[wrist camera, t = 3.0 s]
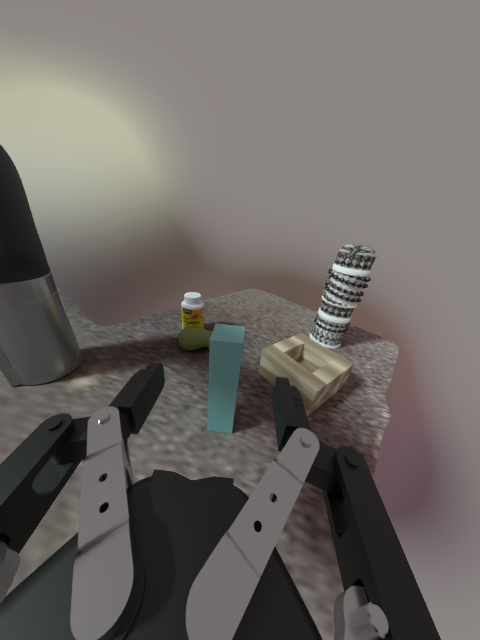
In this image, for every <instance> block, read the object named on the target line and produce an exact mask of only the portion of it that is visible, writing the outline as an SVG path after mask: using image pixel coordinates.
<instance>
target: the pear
mask: <svg viewBox="0 0 480 640" xmlns="http://www.w3.org/2000/svg"><path fill="white" fill-rule="evenodd" d="M212 332H213V331H208V330H205V329H203V328H200V327H192V326H191V327H185V328H183V329H182V330H181V331H180V333H179V335H178V343H179V345H180V347H181V348H183V349H185V350H195V349H198V348H201V347H207V348H210V338H211V335H212Z"/></svg>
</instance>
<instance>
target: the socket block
mask: <svg viewBox="0 0 480 640" xmlns="http://www.w3.org/2000/svg"><path fill="white" fill-rule="evenodd" d="M353 366H354V364H353V363H351V362H349V361H348V360H346V359H344V358H343V357H341V356H339V355H337V354H336V353H334V352H332V351H331V350H329V349H327V348H326V347H324V346H322V345H321V344H319V343H317V342H315V341H314V340H312V339H310V338H309V337H307V336H305V335H304V334H302V333H301V334H298V335H296V336H293V337H291V338H288V339H286V340H283V341H281V342H278V343H276V344H273V345H271V346H268V347H266V348H263V351H262V356H261V361H260V366H259V371H258V372H259V373H260V374H261V375H262V376H263V377H264V378H265V379H266V380H267V381H268V382H270V383H271V384H272V385H273V386H275V382H276V378H277V377H286V378H288V379H289V383H290V386H296V388H297V389H298V390H299V392H300V393H301V397H302V401H303V404H304V408H305V411H306V415H307V416H308V415H310V414H311V413H312V412H313V411H315V410H316V409H317V408H318V407H319V406H321V405H322V404H323V403H324V402H325V401H327V400H328V399H329V398H330V397H332V396H333V395H334V394H335V393H336V392H338V391H339V390H340V389H341V388H342V387H343V386H344V384H345V382H346V380H347V378H348V376H349V374H350V372H351V370H352V368H353Z"/></svg>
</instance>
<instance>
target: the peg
mask: <svg viewBox="0 0 480 640" xmlns="http://www.w3.org/2000/svg"><path fill="white" fill-rule="evenodd" d="M244 331H245V327H243V326H234V325H226V324H217V323H216V324H215V327H214V329H213V332H212V335H211V338H210V348H209V386H208V425H207V431H215V432H223V433H231V434H232V429H233V421H234V413H235V405H236V398H237V390H238V382H239V374H240V367H241V359H242V351H243V343H244Z"/></svg>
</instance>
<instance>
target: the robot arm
mask: <svg viewBox="0 0 480 640" xmlns="http://www.w3.org/2000/svg"><path fill="white" fill-rule="evenodd" d="M82 360H83V357H82V353H81V350H80V347H79V345H78V343H77V340H76V337H75V334H74V332H73V329H72V326H71V324H70V321H69V318H68V316H67V313H66V310H65V308H64V305H63V302H62V300H61V297H60V294H59V292H58V289H57V286H56V284H55V281H54V278H53V276H52V273H51V271H50V268H49V265H48V263H47V260H46V256H45V253H44V250H43V247H42V244H41V241H40V238H39V235H38V233H37V230H36V227H35V223H34V220H33V217H32V214H31V210H30V207H29V203H28V200H27V197H26V193H25V190H24V187H23V185H22V181H21V179H20V176H19V174H18V171H17V170H16V167H15V165H14V163H13V162H12V160H11V158H10V156H9V155H8V154H7V152H6V151H5V150H4V148H3V147H2V146H1V145H0V370H1V372H2V373H3V375H4V376H5V378H6V379H7V381H8V382H9V384H10V385H11V387H13V386H17V385H38V384H43V383H47V382H51V381H54V380H56V379H59V378H61V377H63V376H65V375H67V374H69V373H71V372H72V371H74V370H75V369H76V368H77V367H78V366H79V365H80V364H81V362H82ZM164 383H165V378H164V370H163V365H162V364H161V363H149V365H148V366H147V367H146V369H145V370H144V369H141V370H139V371H138V372H137V373H135V374H134V375H133V376H132V377H131V379H130V380H129V382H127V384H126V385H125V387H123V389H122V390H121V391H120V392H119V394H118V395H117V396H116V397H115V399H114V400H113V401H112V402H111V404H110V405H109V406H108V407H105V408H102V409H100V410H98V411H96V412H95V413H94V414H93V415H92V416H90V417H85V418H79V419H72V417H71V416H70V415H69V414H58V415H55V416H52V417H50V418H49V419H47V420H45V421H44V422H43V423H41V424H40V425H39V426H38V427H37V428H36V429H35V430H34V431H33V432H32V433H31V434H30V435H29V436H28V437H27V438H26V439H25V440H24V441H23V442H22V443H21V444H20V445H19V446H18V447H17V448H16V449H15V450H14V451H13V452H12V453H11V454H10V455H9V456H8V457H7V458H6V459H5V460H4V461H3V462H2V463H1V464H0V640H322V638H321V635H320V633H319V631H318V629H317V627H316V625H315V623H314V621H313V619H312V617H311V615H310V613H309V611H308V609H307V607H306V605H305V603H304V601H303V599H302V597H301V596H300V594H299V592H298V590H297V588H296V586H295V584H294V582H293V580H292V578H291V576H290V574H289V572H288V570H287V568H286V566H285V564H284V562H283V561H282V559H281V557H280V555H279V553H278V551H277V549H276V547H275V545H276V542H277V540H278V538H279V536H280V534H281V532H282V529H283V527H284V525H285V523H286V521H287V518H288V516H289V514H290V512H291V510H292V508H293V505H294V503H295V501H296V499H297V497H298V495H299V492H300V490H301V488H302V486H303V483H304V481H306V482H308V483H310V484H312V485H314V486H316V487H318V488H320V489H322V490H323V495H324V499H325V504H326V509H327V513H328V518H329V523H330V527H331V532H332V536H333V541H334V546H335V550H336V555H337V560H338V564H339V569H340V574H341V578H342V583H343V588H344V592H343V593H341V594H340V595H339V596H338V597H337V599H336V600H335V604H334V625H335V635H334V640H441V639H440V636H439V634H438V632H437V629H436V627H435V625H434V622H433V620H432V617H431V615H430V613H429V611H428V608H427V606H426V603H425V601H424V599H423V596H422V594H421V592H420V589H419V587H418V585H417V582H416V580H415V578H414V575H413V573H412V570H411V568H410V566H409V563H408V561H407V559H406V556H405V554H404V552H403V549H402V547H401V544H400V542H399V540H398V537H397V535H396V533H395V530H394V528H393V526H392V523H391V521H390V518H389V516H388V514H387V512H386V509H385V507H384V505H383V502H382V500H381V497H380V495H379V493H378V490H377V488H376V486H375V483H374V481H373V478H372V476H371V474H370V471H369V469H368V467H367V464H366V462H365V460H364V459H363V457H362V456H361V455H360V454H359V453H358V452H357V451H356V450H354V449H352V448H350V447H347V446H341V447H339V448H338V449H335V448H332V447H330V446H328V445H325V444H323V443H322V442H320V441H319V440H318V439H317V437H316V436H315V434H314V433H312V431H311V429H310V425H309V422H308V418H307V415H306V411H305V408H304V404H303V401H302V397H301V393H300V392H299V390H298V389H297V388H296V386H290V383H289V379H288V378H286V377H277V378H276V382H275V386H274V391H273V408H274V417H275V426H276V435H277V444H278V451H281V453H280V455H279V456H278V458H277V459H276V460H274V461H273V462H272V464H271V465H270V467H269V468H268V470H267V471H266V473H265V474H264V476H263V477H262V479H261V481H260V482H259V484H258V485H257V487H256V488H255V490H254V491H253V493H252V495H251V496H250V498H249V497H248V496H247V495H246V494H245V493H244V492H243V491H242V490H240V489H239V488H237V487H236V486H234V485H233V479H231V478H223V477H209V478H204V479H199V480H190V479H188V478H186V477H184V476H182V475H180V474H177V473H175V472H172V471H163V470H154V472H153V475H152V476H151V477H147V478H144V479H142V480H140V481H138V482H136V483H135V482H134V478H133V473H132V467H131V460H130V453H129V446H128V440H127V439H128V438H129V436H130V434H131V433H132V434H138V433H139V431H140V429H141V427H142V426H143V424H144V422H145V420H146V418H147V416H148V415H149V413H150V411H151V409H152V407H153V406H154V404H155V402H156V400H157V398H158V397H159V395H160V393H161V391H162V389H163V387H164ZM81 460H83V462H82V475H81V495H80V514H79V532H78V533H77V534H76V535H74V536H73V537H72V538H71V539H70V540H69V541H68V542H66V543H65V544H64V545H63V546H62V547H61V548H60V549H59V550H57V551H56V552H55V553H54V554H53V555H52V556H51V557H50V558H48V559H47V560H46V561H45V562H44V563H43V564H42V565H41V566H39V567H38V568H37V569H36V570H35V571H34V572H33V573H31V574H30V575H29V576H28V577H27V578H26V579H25V580H24V581H22V582H21V583H20V584H19V585H18V586H17V587H16V588H15V589H14V590H12V591H11V592H10V593H9V594H8V595H7V596H6V593H7V591H8V589H9V588H10V587H11V585H12V583H13V579H14V576H15V574H16V572H17V570H18V567H19V563H20V556H19V553H20V551H21V550H22V548H23V547H24V545H25V544H26V542H27V541H28V539H29V538H30V536H31V535H32V533H33V532H34V530H35V529H36V527H37V526H38V524H39V523H40V521H41V520H42V518H43V517H44V515H45V514H46V512H47V511H48V509H49V508H50V506H51V505H52V503H53V502H54V500H55V499H56V497H57V496H58V494H59V493H60V491H61V490H62V489H63V487H64V486H65V484H66V483H67V481H68V480H69V478H70V477H71V475H72V474H73V472H74V471H75V469H76V468H77V466H78V465H79V463H80V462H81ZM5 596H6V597H5Z"/></svg>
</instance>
